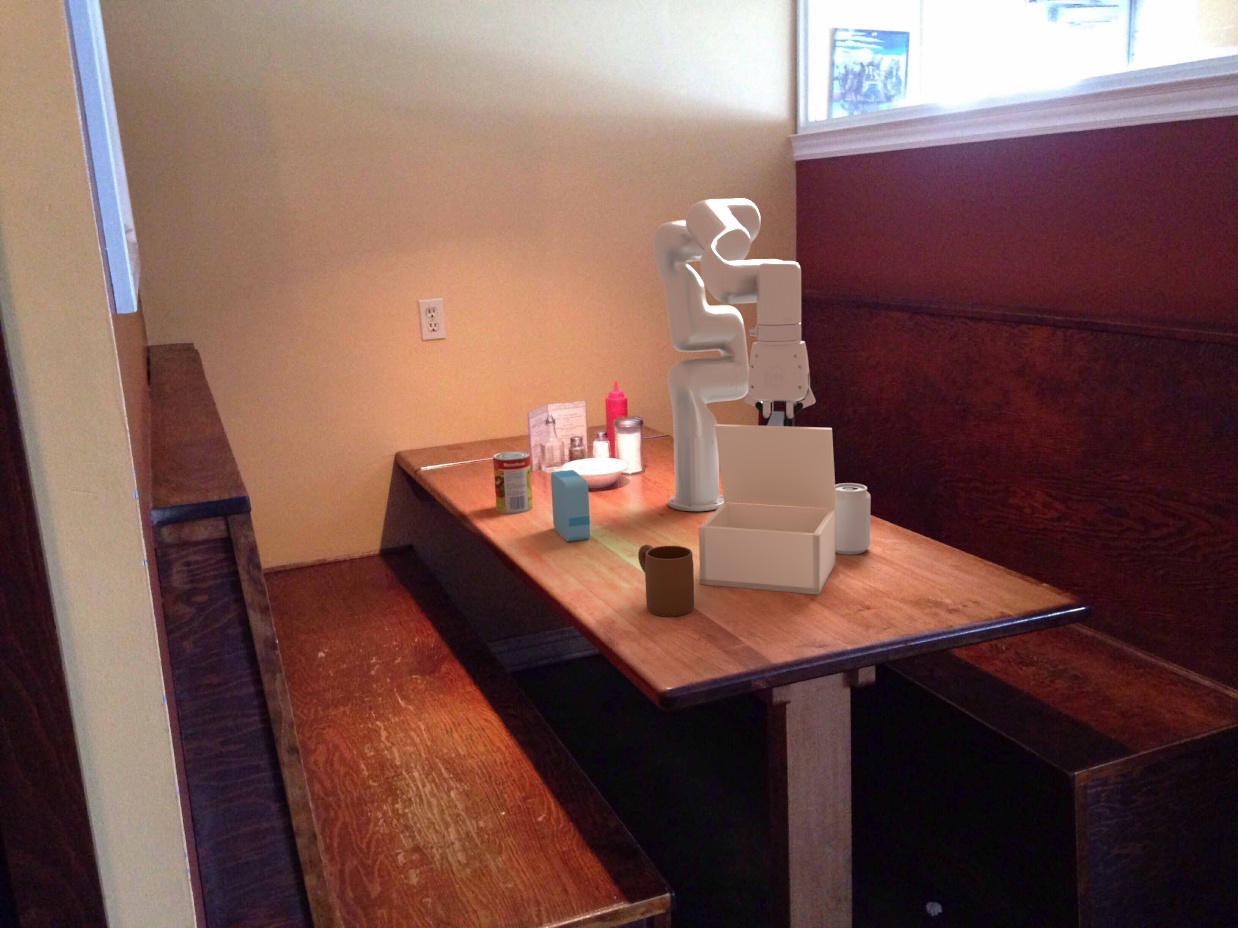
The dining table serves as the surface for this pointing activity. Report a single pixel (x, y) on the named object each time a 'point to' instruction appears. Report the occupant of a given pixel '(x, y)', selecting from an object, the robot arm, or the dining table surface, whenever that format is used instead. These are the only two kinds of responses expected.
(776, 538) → the mailer box
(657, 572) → the mug
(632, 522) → the dining table surface
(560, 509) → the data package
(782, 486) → the flap
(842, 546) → the can
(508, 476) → the canned food
